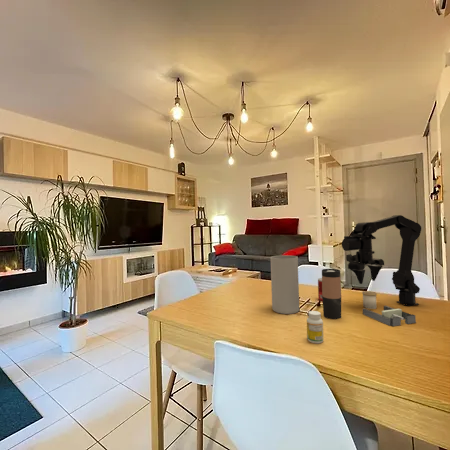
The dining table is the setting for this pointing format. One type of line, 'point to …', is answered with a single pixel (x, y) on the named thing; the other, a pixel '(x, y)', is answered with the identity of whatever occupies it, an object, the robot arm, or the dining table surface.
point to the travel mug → (331, 293)
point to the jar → (369, 299)
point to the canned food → (320, 289)
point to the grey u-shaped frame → (392, 320)
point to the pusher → (393, 313)
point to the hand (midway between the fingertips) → (367, 282)
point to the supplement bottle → (315, 327)
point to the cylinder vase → (285, 284)
